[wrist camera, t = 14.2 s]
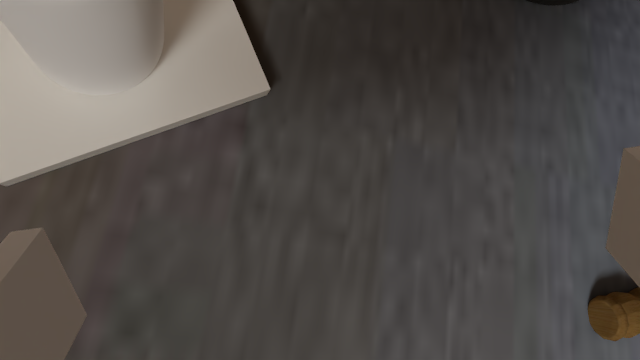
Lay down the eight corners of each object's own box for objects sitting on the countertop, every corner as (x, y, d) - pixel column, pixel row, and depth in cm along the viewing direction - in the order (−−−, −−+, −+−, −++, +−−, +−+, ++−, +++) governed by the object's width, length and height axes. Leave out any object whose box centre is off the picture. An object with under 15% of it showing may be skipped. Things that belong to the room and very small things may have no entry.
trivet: (192, -81, 29) (193, -95, 28) (266, 95, 29) (270, 89, 28) (-82, -21, 25) (-93, -34, 24) (6, 186, 25) (-2, 183, 24)
